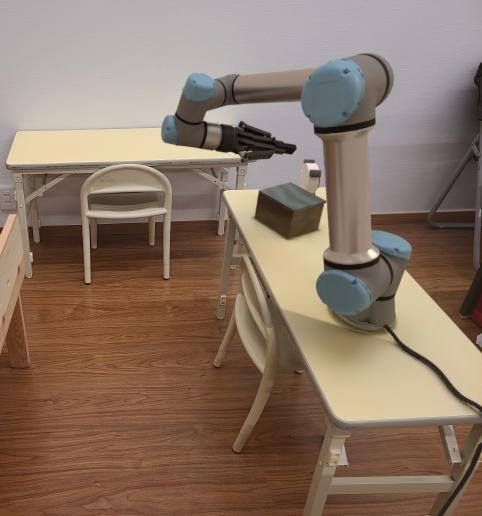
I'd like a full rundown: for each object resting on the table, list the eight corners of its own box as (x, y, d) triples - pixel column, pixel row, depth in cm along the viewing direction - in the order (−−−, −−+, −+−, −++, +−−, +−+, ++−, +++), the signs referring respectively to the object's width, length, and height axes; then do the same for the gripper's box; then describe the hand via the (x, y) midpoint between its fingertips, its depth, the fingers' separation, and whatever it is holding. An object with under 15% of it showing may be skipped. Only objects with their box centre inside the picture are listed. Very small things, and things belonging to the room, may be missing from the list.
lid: (290, 184, 173) (290, 182, 173) (326, 203, 161) (326, 200, 161) (258, 192, 167) (258, 190, 167) (293, 212, 155) (293, 210, 155)
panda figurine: (323, 210, 178) (333, 171, 170) (291, 209, 178) (299, 170, 170) (315, 196, 188) (324, 158, 180) (285, 194, 188) (292, 157, 180)
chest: (283, 209, 178) (288, 184, 173) (318, 229, 166) (324, 203, 161) (254, 217, 173) (258, 192, 167) (287, 239, 160) (293, 212, 155)
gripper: (210, 127, 142) (284, 139, 147) (213, 164, 136) (290, 176, 142) (220, 109, 135) (297, 123, 141) (224, 148, 130) (304, 160, 135)
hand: (293, 149), depth 141 cm, fingers closed
